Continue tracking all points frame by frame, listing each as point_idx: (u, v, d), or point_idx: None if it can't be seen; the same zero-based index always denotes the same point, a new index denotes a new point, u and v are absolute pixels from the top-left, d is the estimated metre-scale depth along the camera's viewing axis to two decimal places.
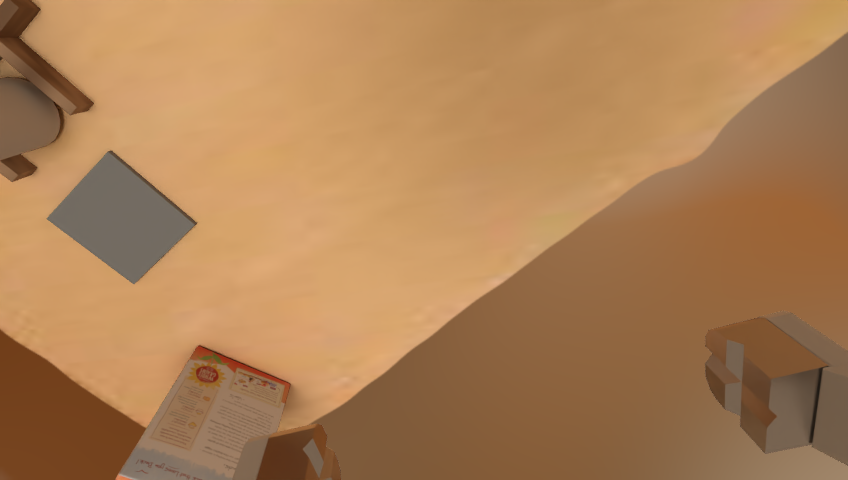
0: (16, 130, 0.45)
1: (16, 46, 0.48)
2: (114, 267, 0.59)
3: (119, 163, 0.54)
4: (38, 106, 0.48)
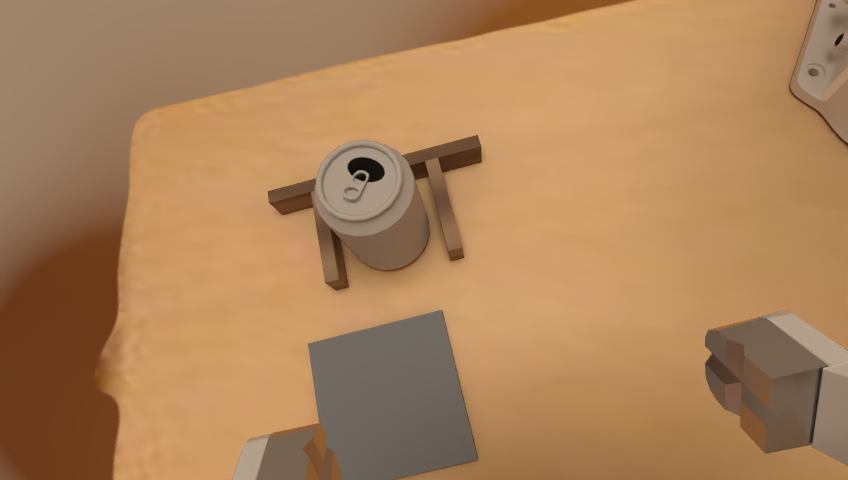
0: (409, 229, 0.36)
1: None
2: None
3: (443, 329, 0.40)
4: (425, 227, 0.40)
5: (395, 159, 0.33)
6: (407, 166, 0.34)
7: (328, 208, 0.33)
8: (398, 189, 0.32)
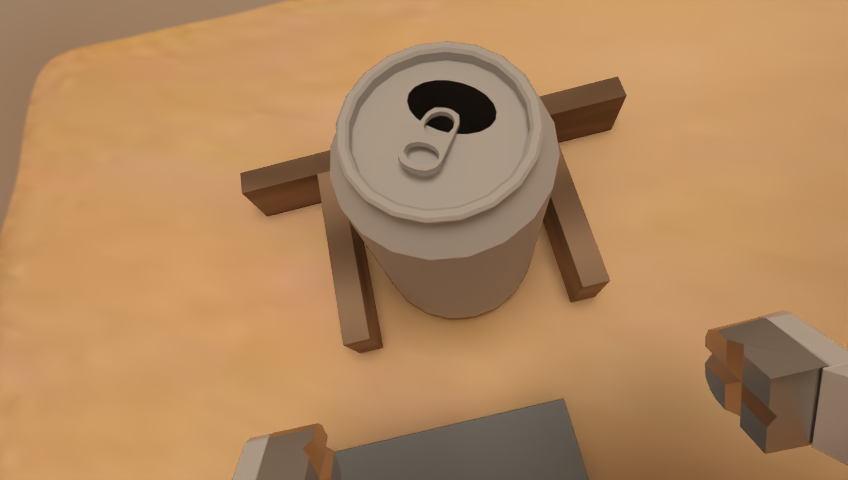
0: (529, 244, 0.17)
1: None
2: None
3: (571, 438, 0.21)
4: None
5: (524, 80, 0.14)
6: (540, 103, 0.15)
7: (366, 192, 0.13)
8: (538, 148, 0.13)
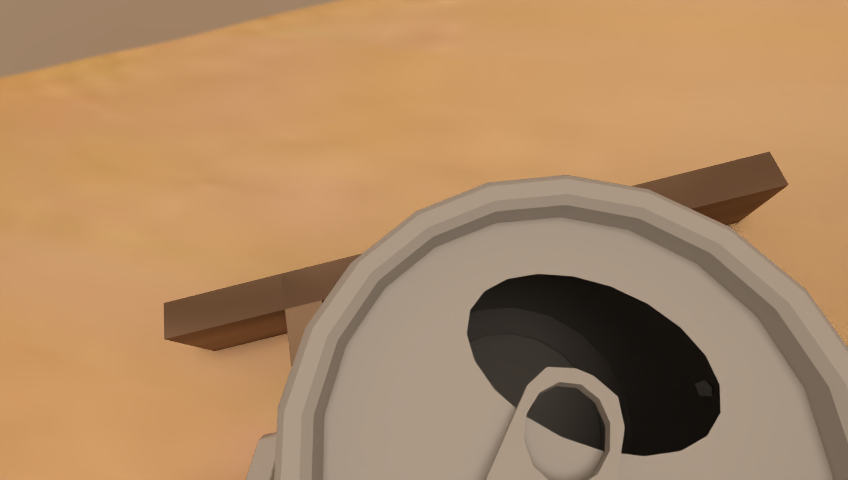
0: None
1: None
2: None
3: None
4: None
5: (811, 312, 0.05)
6: None
7: None
8: None
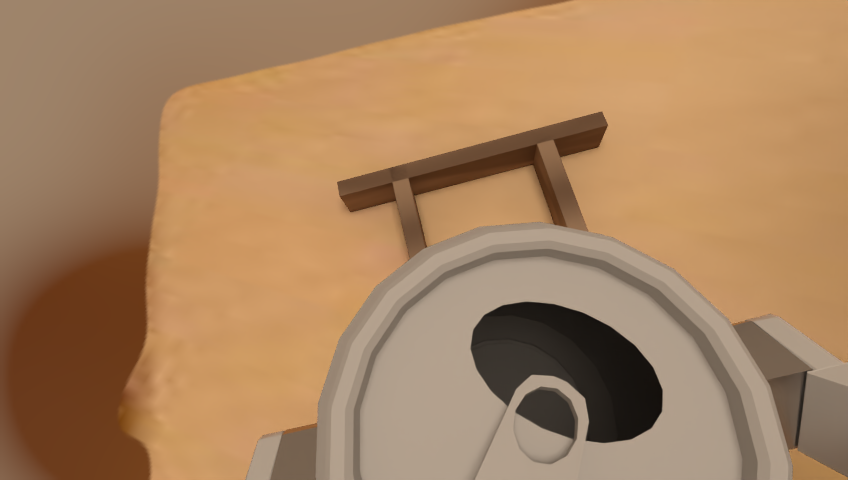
0: None
1: None
2: None
3: None
4: None
5: (730, 336, 0.07)
6: None
7: None
8: None
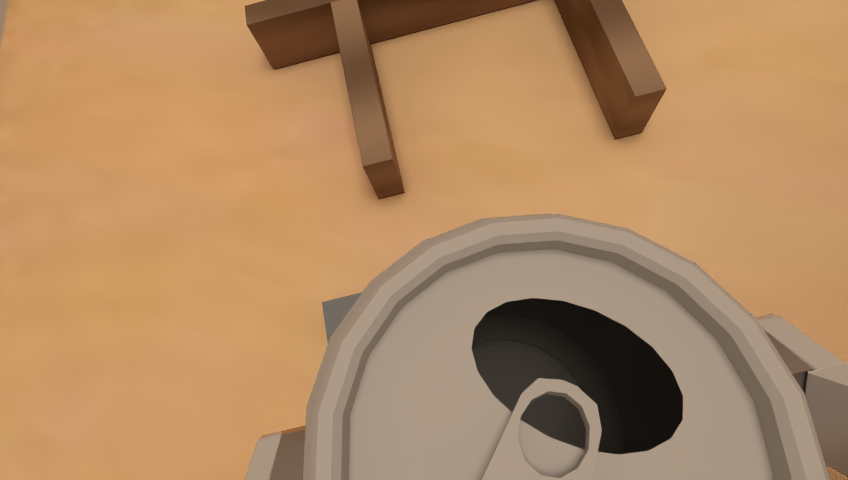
0: None
1: None
2: None
3: None
4: None
5: (758, 338, 0.06)
6: None
7: None
8: None
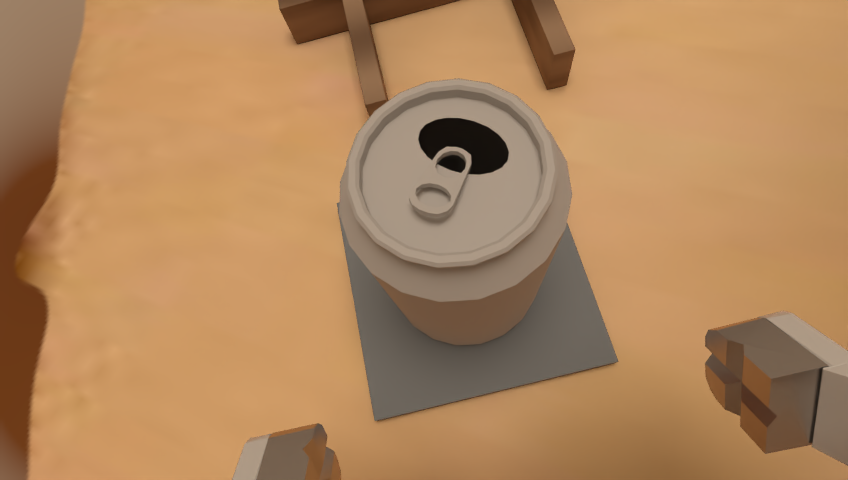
0: (539, 280, 0.17)
1: None
2: (370, 357, 0.24)
3: None
4: None
5: (537, 121, 0.14)
6: None
7: (377, 235, 0.13)
8: (551, 192, 0.13)
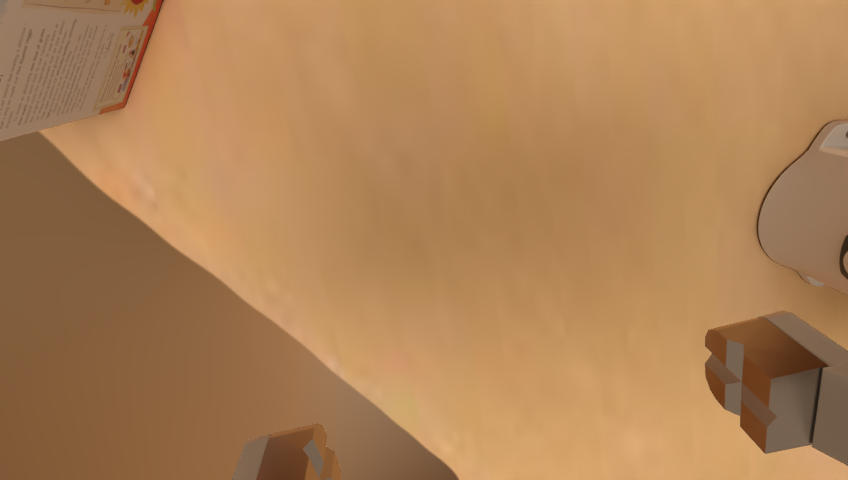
0: None
1: None
2: None
3: None
4: None
5: None
6: None
7: None
8: None
